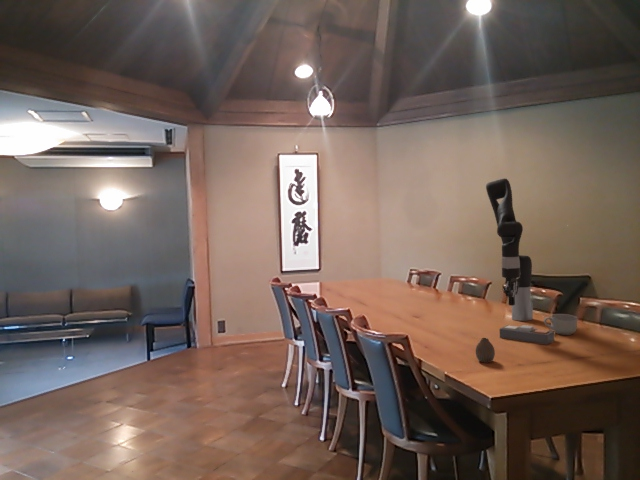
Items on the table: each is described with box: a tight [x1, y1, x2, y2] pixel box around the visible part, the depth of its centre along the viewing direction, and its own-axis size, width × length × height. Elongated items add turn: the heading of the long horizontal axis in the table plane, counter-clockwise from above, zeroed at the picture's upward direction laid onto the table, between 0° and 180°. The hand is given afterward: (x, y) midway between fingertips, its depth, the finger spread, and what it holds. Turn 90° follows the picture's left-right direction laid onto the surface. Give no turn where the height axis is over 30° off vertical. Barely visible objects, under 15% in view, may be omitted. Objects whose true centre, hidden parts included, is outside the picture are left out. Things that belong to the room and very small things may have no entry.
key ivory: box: [503, 324, 520, 330], centre depth 216 cm, size 5×5×2 cm
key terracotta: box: [534, 328, 550, 334], centre depth 207 cm, size 5×5×2 cm
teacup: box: [543, 313, 578, 336], centre depth 219 cm, size 14×11×8 cm
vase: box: [475, 337, 496, 364], centre depth 183 cm, size 7×7×9 cm
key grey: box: [518, 324, 535, 332], centre depth 212 cm, size 5×5×2 cm
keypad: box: [499, 324, 555, 345], centre depth 212 cm, size 20×8×4 cm, turn 46°
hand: (511, 305), depth 216 cm, fingers closed
